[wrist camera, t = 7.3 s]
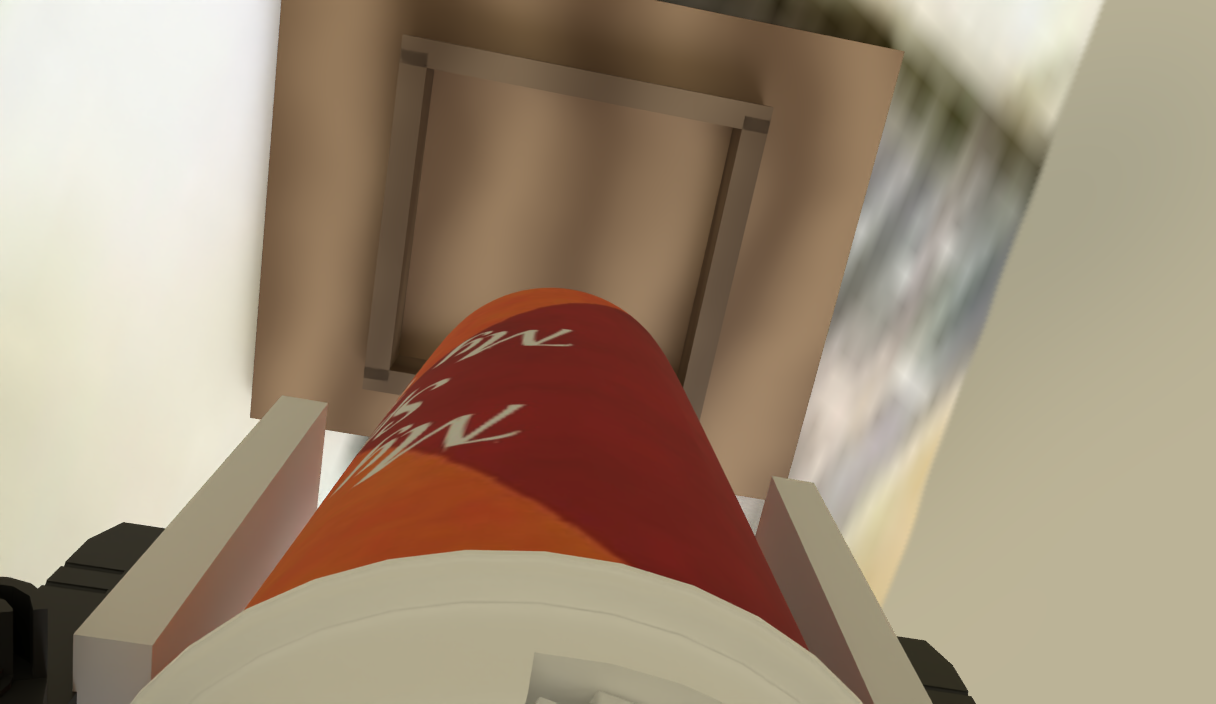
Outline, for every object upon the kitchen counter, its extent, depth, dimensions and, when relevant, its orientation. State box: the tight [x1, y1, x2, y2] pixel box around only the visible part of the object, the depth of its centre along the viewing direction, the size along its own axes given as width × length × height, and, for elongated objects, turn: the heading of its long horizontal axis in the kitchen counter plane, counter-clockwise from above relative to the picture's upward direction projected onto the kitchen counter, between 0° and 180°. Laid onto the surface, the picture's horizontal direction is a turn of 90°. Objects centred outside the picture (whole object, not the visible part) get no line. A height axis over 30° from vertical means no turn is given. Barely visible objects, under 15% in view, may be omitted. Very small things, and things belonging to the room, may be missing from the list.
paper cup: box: [130, 288, 863, 704], centre depth 14 cm, size 8×8×14 cm
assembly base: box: [250, 0, 904, 500], centre depth 38 cm, size 24×20×4 cm
